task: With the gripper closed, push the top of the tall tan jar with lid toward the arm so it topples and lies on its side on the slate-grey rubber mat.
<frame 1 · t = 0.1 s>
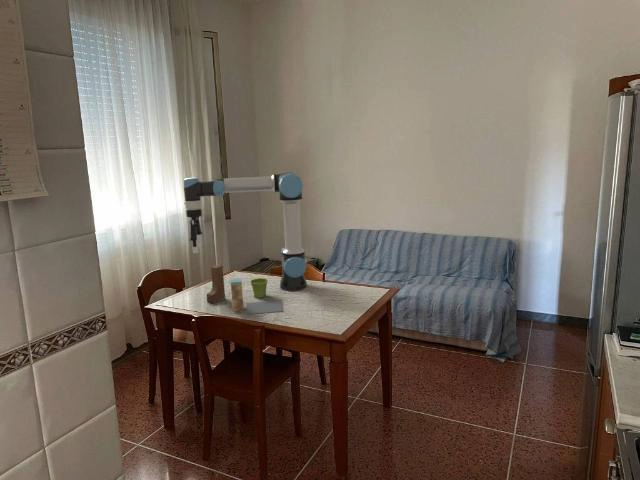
hand: (197, 249, 239), 28 cm above the table, fingers open, 13 cm apart
plant pot: (260, 296, 250), on the table
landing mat: (264, 307, 233), on the table
brown boot: (216, 300, 247), on the table
tan jar with lid: (238, 309, 232), on the table
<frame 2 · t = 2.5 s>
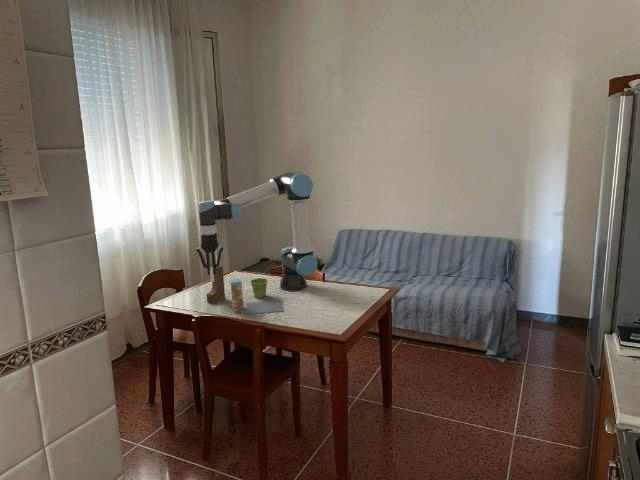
hand: (212, 281, 227), 16 cm above the table, fingers closed
nothing on the table moved.
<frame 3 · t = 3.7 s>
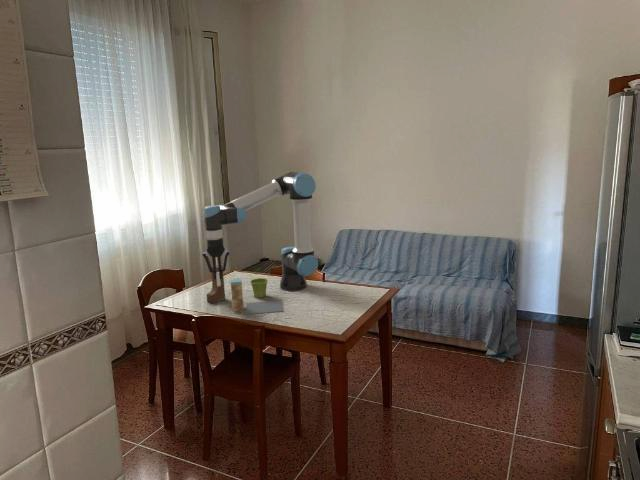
hand: (218, 285, 228), 13 cm above the table, fingers closed
nothing on the table moved.
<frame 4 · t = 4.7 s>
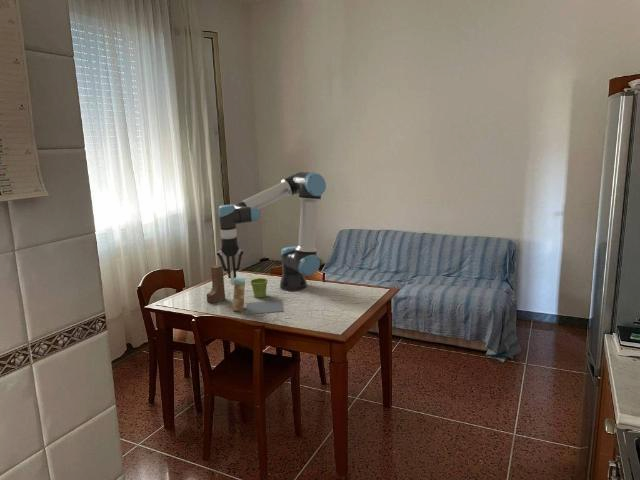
hand: (232, 284, 229), 13 cm above the table, fingers closed
tan jar with lid: (238, 309, 232), on the table, tilted 7°, touching gripper
everything else where it was.
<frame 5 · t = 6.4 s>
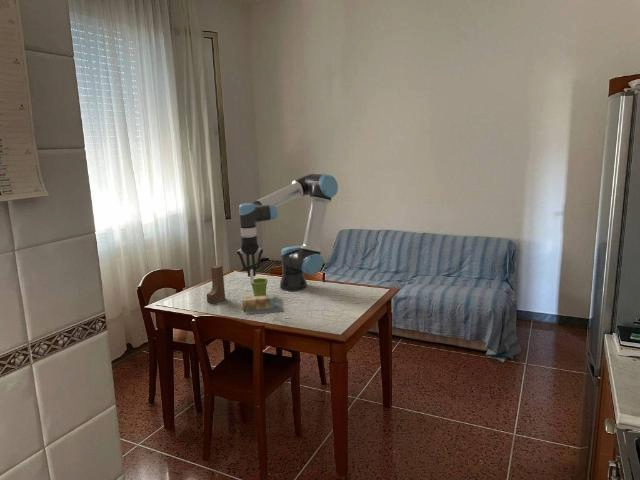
hand: (252, 282, 230), 13 cm above the table, fingers closed
tan jar with lid: (242, 303, 231), point 3 cm above the table, tilted 90°, touching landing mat
everything else where it was.
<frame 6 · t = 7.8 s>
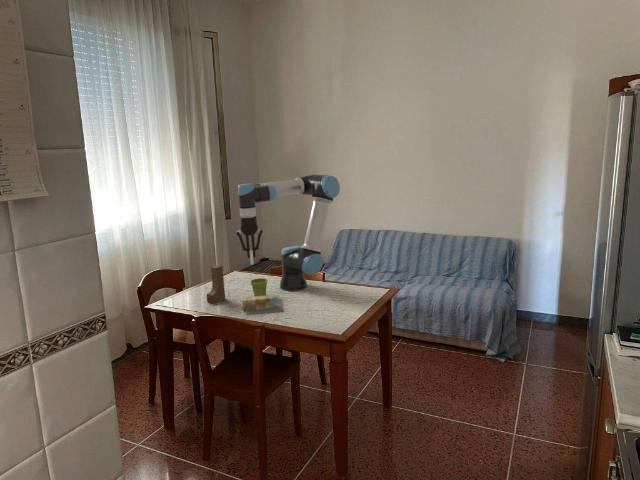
hand: (252, 263, 228), 23 cm above the table, fingers closed
nothing on the table moved.
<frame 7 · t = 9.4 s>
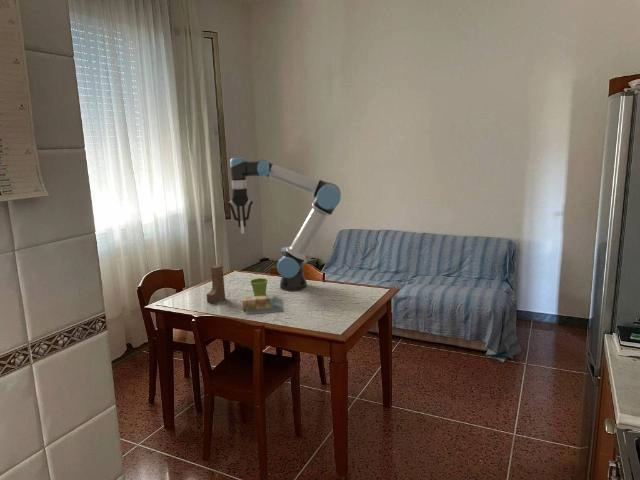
hand: (242, 232, 246), 34 cm above the table, fingers closed
nothing on the table moved.
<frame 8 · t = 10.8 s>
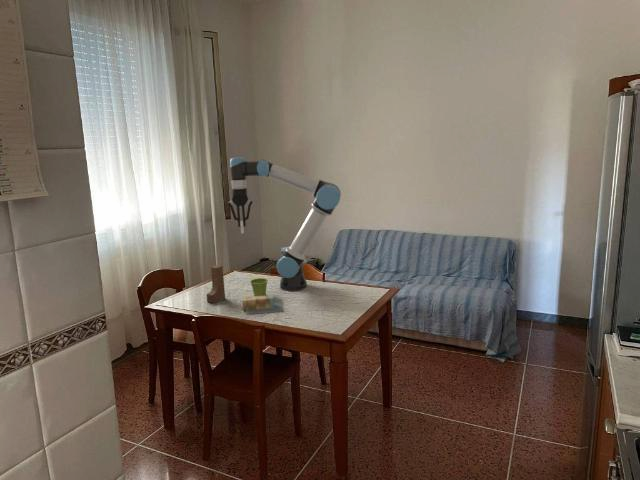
hand: (242, 232, 246), 34 cm above the table, fingers closed
nothing on the table moved.
at the end: tan jar with lid tilted 90°; tan jar with lid inside the target area (0.5 cm from its centre), point 2.8 cm above the table; tan jar with lid touching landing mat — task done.
